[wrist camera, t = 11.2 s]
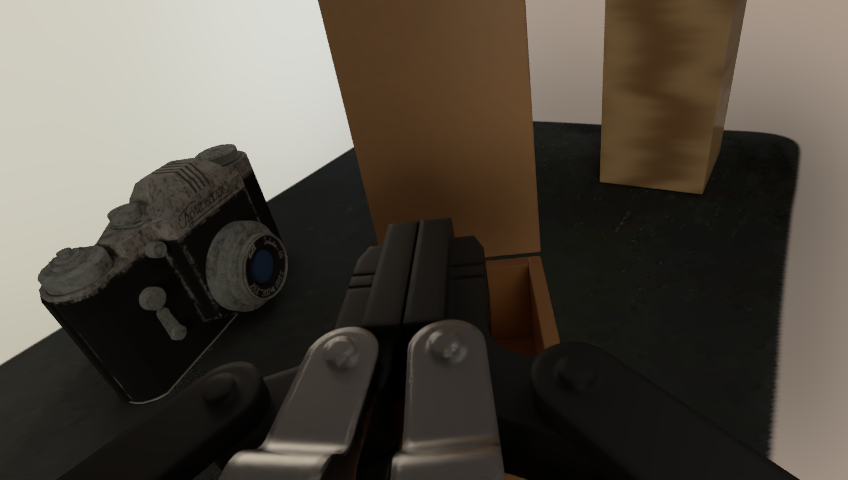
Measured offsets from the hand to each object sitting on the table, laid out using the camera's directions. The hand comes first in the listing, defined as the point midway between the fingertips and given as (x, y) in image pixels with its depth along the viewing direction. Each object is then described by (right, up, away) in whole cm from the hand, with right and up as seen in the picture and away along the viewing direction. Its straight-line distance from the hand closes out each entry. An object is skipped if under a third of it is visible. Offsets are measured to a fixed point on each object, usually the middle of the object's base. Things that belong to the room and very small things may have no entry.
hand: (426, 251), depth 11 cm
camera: (-12, -5, +19) cm, 23 cm away
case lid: (+1, +4, +7) cm, 8 cm away
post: (+18, +6, +25) cm, 31 cm away
